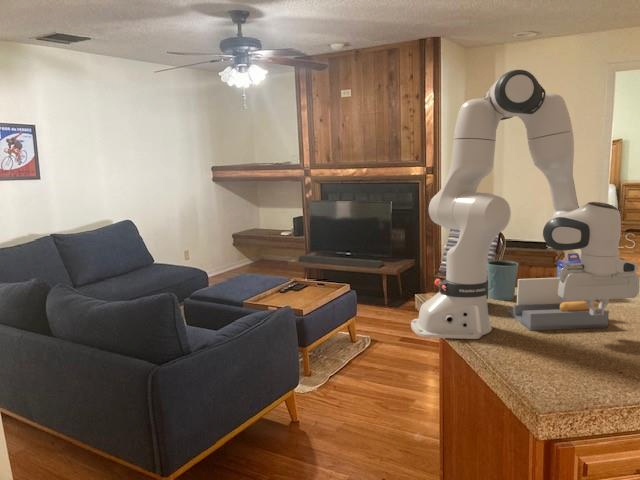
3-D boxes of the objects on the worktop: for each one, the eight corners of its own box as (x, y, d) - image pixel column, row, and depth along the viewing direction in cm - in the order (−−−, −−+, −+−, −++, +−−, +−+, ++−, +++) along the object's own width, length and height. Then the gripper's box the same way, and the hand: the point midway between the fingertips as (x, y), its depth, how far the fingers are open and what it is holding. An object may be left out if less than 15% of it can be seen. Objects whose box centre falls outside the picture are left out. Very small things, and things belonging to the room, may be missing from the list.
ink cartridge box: (583, 293, 177) (585, 252, 174) (591, 297, 171) (594, 255, 169) (555, 293, 177) (556, 253, 175) (562, 298, 171) (564, 256, 169)
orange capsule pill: (562, 314, 142) (563, 303, 142) (557, 310, 145) (557, 300, 145) (601, 312, 143) (601, 302, 142) (595, 309, 146) (595, 299, 145)
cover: (518, 279, 151) (517, 279, 152) (517, 304, 152) (516, 304, 153) (585, 277, 151) (583, 276, 152) (583, 302, 153) (582, 301, 154)
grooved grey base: (530, 330, 142) (530, 313, 141) (507, 312, 158) (508, 298, 157) (607, 327, 142) (609, 310, 141) (577, 310, 158) (578, 295, 157)
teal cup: (480, 294, 179) (481, 261, 177) (504, 291, 182) (505, 258, 180) (498, 302, 169) (499, 267, 167) (523, 298, 172) (525, 264, 170)
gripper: (566, 268, 130) (564, 320, 132) (644, 265, 130) (641, 316, 133) (554, 263, 136) (552, 312, 138) (629, 260, 137) (626, 309, 139)
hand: (596, 314), depth 136 cm, fingers closed
